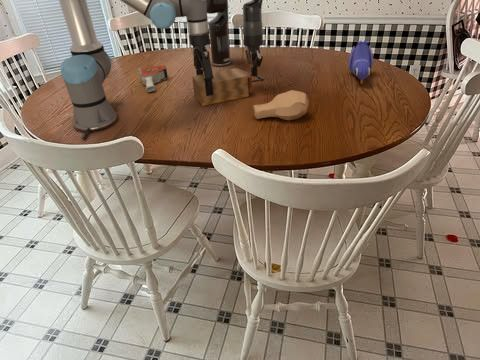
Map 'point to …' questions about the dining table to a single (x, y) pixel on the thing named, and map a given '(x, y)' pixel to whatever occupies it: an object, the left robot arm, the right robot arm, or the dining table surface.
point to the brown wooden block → (222, 86)
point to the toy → (361, 60)
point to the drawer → (252, 80)
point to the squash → (284, 106)
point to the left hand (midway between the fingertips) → (205, 90)
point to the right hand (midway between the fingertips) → (254, 75)
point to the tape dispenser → (152, 76)
